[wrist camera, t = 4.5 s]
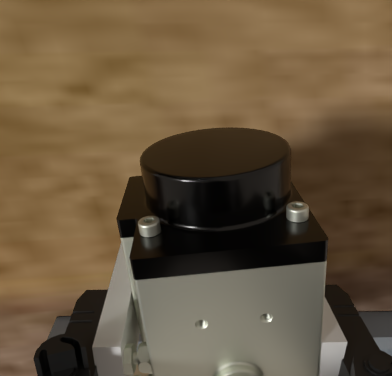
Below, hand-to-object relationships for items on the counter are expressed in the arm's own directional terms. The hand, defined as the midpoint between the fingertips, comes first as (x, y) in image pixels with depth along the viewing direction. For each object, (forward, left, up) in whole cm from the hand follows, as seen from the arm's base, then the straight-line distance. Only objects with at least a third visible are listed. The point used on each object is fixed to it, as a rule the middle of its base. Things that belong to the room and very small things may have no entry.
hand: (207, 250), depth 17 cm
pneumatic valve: (0, 0, -5) cm, 5 cm away
